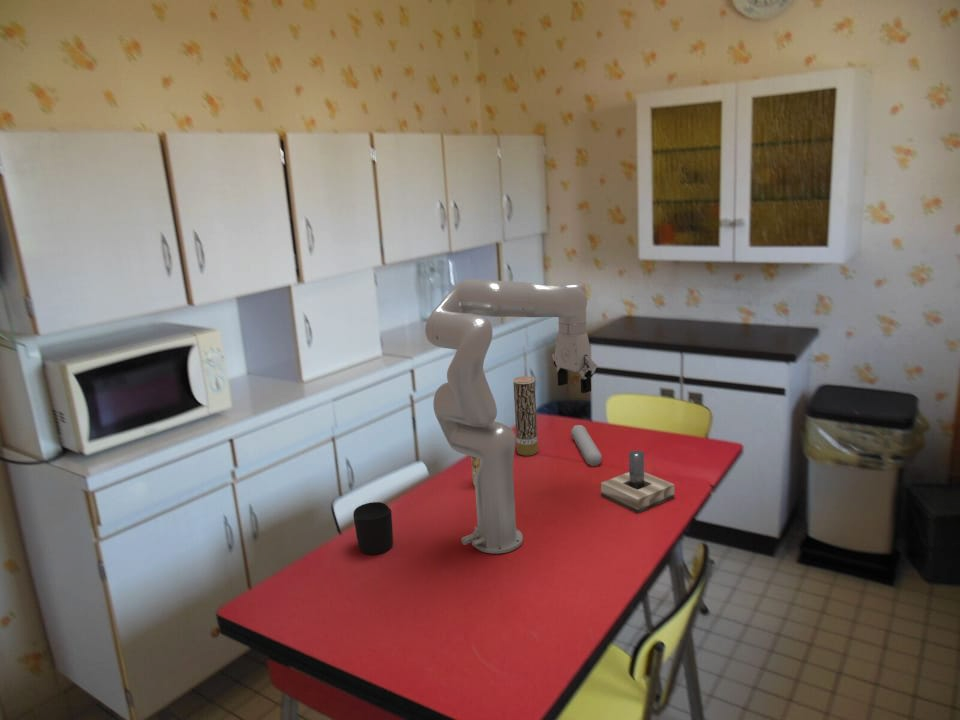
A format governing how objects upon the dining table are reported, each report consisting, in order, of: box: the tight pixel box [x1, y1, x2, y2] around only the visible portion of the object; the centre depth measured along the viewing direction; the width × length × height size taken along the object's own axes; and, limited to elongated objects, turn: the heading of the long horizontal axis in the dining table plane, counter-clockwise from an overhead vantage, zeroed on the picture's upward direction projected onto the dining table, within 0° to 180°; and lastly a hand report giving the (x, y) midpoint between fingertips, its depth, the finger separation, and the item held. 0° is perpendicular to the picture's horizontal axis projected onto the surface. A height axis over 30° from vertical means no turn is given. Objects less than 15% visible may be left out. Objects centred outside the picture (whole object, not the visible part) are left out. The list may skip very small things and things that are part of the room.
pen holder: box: [352, 501, 394, 556], centre depth 181 cm, size 9×9×10 cm
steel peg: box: [628, 449, 645, 490], centre depth 198 cm, size 4×4×12 cm
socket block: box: [600, 471, 675, 514], centre depth 199 cm, size 14×14×4 cm
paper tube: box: [513, 375, 539, 457], centre depth 232 cm, size 7×7×25 cm
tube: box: [570, 424, 603, 467], centre depth 232 cm, size 5×5×25 cm
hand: (574, 388), depth 199 cm, fingers open, 9 cm apart
